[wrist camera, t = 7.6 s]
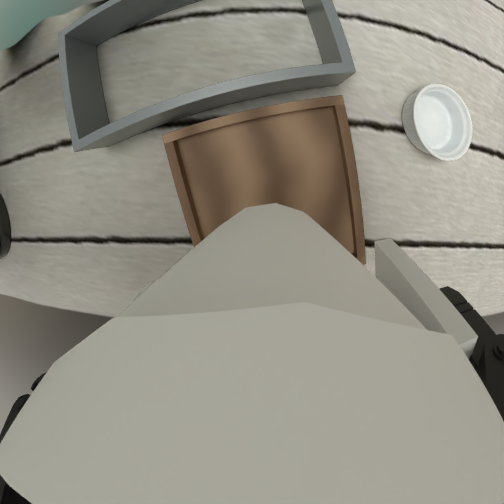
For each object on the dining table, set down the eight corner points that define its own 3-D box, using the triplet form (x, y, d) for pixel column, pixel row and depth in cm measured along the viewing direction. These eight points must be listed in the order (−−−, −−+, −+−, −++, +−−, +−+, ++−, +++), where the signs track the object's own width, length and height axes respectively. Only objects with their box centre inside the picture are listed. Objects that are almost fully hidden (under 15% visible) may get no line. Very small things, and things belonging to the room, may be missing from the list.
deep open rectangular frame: (107, 146, 29) (74, 152, 23) (89, 44, 23) (58, 33, 17) (337, 85, 25) (355, 72, 19) (300, -23, 19) (306, -53, 13)
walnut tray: (212, 281, 35) (208, 291, 33) (170, 134, 28) (161, 134, 26) (360, 255, 33) (365, 264, 30) (336, 98, 26) (342, 95, 23)
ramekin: (387, 92, 25) (403, 87, 21) (442, 84, 23) (461, 81, 19) (408, 163, 28) (425, 168, 24) (459, 150, 26) (479, 153, 22)
